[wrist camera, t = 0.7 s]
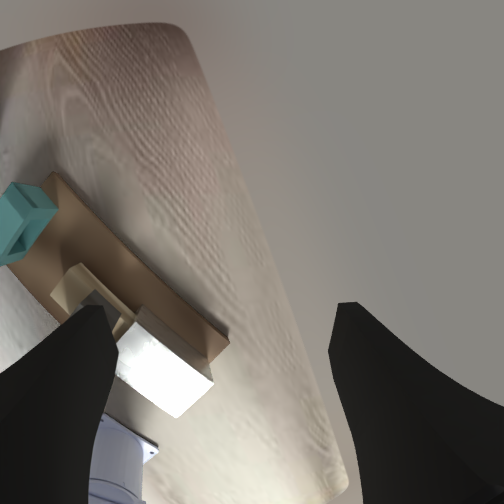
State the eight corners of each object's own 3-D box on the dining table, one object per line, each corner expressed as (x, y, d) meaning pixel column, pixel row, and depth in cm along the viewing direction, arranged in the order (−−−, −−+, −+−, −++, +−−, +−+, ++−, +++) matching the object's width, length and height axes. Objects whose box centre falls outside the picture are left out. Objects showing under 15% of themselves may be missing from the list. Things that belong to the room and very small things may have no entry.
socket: (22, 259, 22) (-7, 268, 17) (5, 237, 22) (-26, 242, 16) (58, 209, 23) (32, 208, 18) (40, 187, 22) (11, 181, 17)
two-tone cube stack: (175, 387, 26) (177, 433, 20) (60, 289, 23) (26, 312, 16) (200, 363, 27) (208, 406, 20) (83, 259, 23) (52, 274, 16)
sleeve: (175, 389, 27) (176, 417, 23) (111, 339, 25) (100, 361, 21) (207, 358, 28) (213, 383, 23) (142, 303, 26) (135, 321, 21)
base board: (163, 401, 28) (163, 407, 27) (2, 250, 23) (-4, 251, 22) (228, 338, 29) (230, 342, 28) (57, 173, 24) (52, 171, 22)
